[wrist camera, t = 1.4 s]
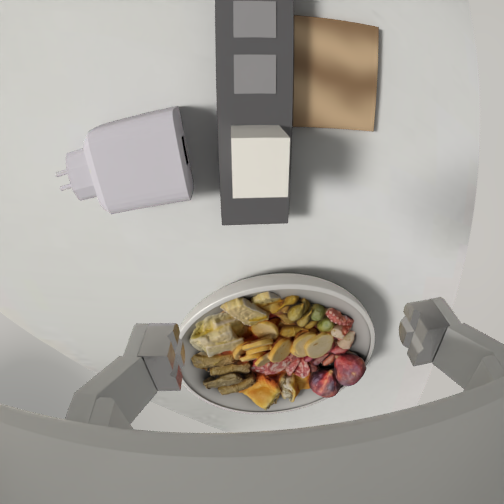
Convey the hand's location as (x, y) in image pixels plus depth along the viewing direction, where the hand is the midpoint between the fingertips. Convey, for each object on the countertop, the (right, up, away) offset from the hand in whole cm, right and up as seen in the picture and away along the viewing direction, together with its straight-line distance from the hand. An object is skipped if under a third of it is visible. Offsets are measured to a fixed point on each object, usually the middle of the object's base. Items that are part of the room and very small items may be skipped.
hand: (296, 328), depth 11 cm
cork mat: (+7, +21, +18) cm, 28 cm away
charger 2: (-1, +13, +20) cm, 24 cm away
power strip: (-1, +19, +18) cm, 26 cm away
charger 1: (-16, +13, +22) cm, 30 cm away
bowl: (+2, -11, +38) cm, 40 cm away
